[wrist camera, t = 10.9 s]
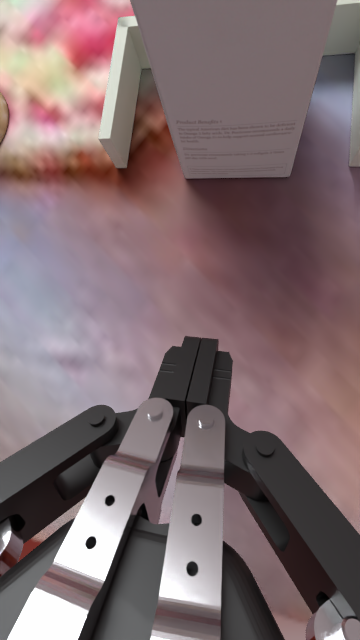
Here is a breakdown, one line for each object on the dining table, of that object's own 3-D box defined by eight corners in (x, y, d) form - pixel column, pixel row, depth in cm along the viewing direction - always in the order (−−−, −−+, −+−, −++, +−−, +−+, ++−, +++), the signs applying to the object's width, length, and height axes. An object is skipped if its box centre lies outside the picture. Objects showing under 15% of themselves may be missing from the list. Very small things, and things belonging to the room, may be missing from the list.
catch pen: (362, 166, 19) (385, 131, 16) (116, 168, 22) (98, 138, 20) (368, 41, 20) (390, -13, 17) (133, 60, 24) (118, 17, 21)
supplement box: (298, 80, 21) (385, -326, 9) (290, 181, 20) (374, -113, 8) (192, 86, 22) (136, -253, 10) (180, 180, 21) (103, -67, 9)
